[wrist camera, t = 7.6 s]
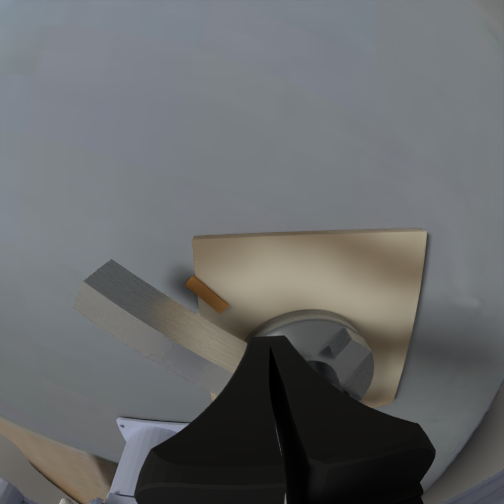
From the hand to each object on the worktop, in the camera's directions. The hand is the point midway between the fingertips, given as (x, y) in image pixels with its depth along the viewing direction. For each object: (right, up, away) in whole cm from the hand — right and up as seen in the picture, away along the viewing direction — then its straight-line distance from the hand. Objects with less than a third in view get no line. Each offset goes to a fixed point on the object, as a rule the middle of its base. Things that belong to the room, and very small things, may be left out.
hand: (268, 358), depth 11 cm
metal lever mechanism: (-1, -2, +10) cm, 10 cm away
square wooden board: (+4, -2, +11) cm, 12 cm away
